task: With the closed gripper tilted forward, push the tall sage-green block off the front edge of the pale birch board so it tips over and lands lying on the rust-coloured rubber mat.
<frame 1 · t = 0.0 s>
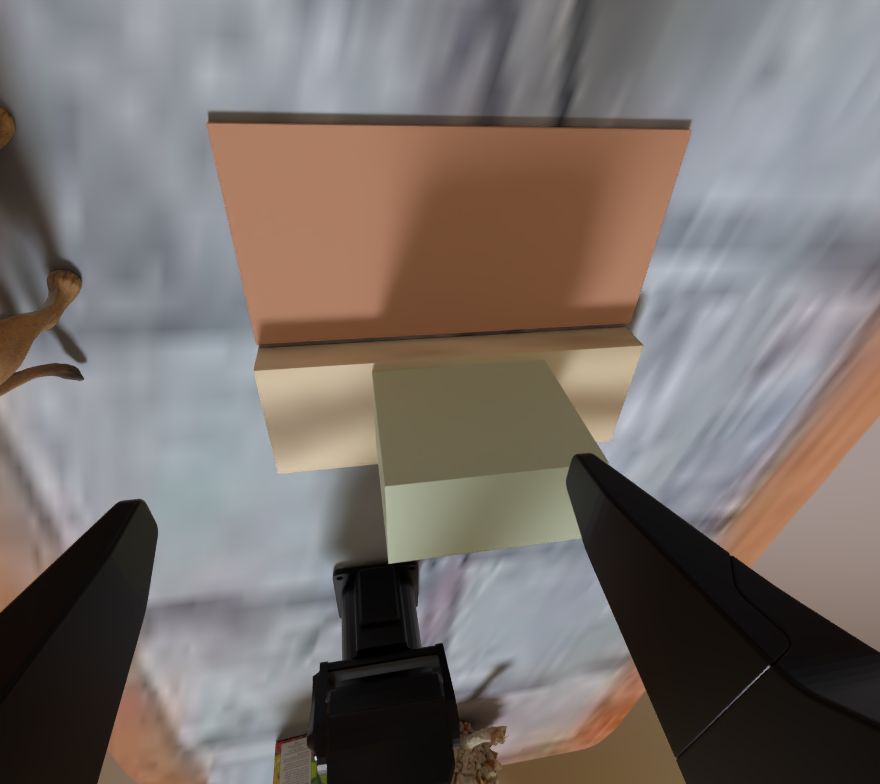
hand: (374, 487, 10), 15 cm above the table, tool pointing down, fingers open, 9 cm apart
birch board: (450, 389, 28), on the table
pine cone: (459, 718, 61), on the table
rubber mat: (460, 241, 23), on the table
snack box: (324, 759, 61), on the table
green block: (457, 403, 26), point 2 cm above the table, touching birch board
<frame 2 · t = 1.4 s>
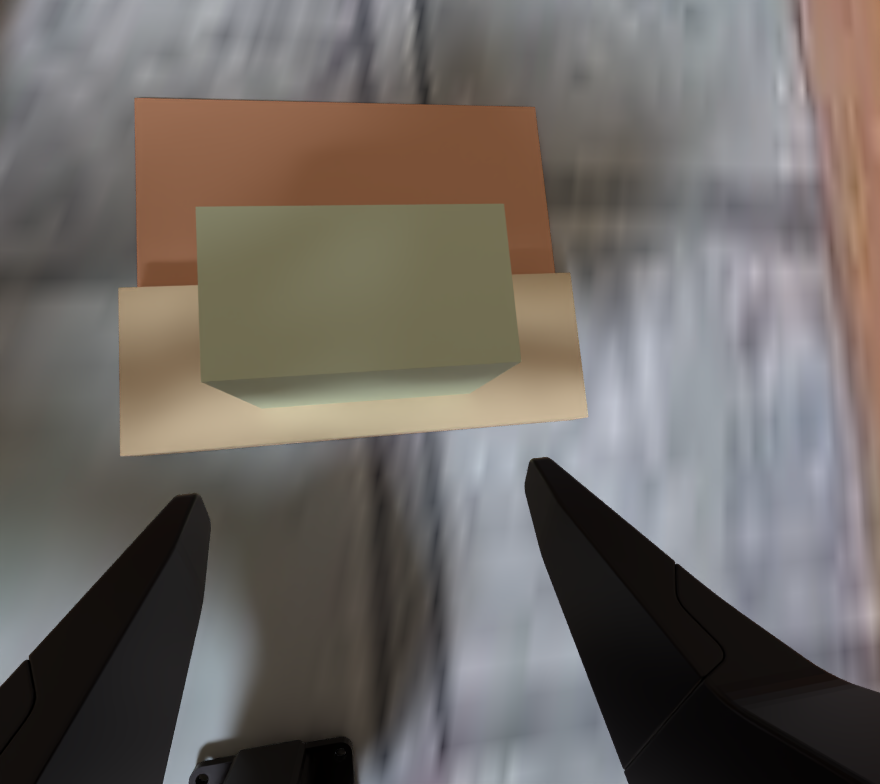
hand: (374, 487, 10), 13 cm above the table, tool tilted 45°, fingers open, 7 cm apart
birch board: (366, 364, 23), on the table
rubber mat: (353, 194, 24), on the table
green block: (365, 344, 21), point 2 cm above the table, touching birch board
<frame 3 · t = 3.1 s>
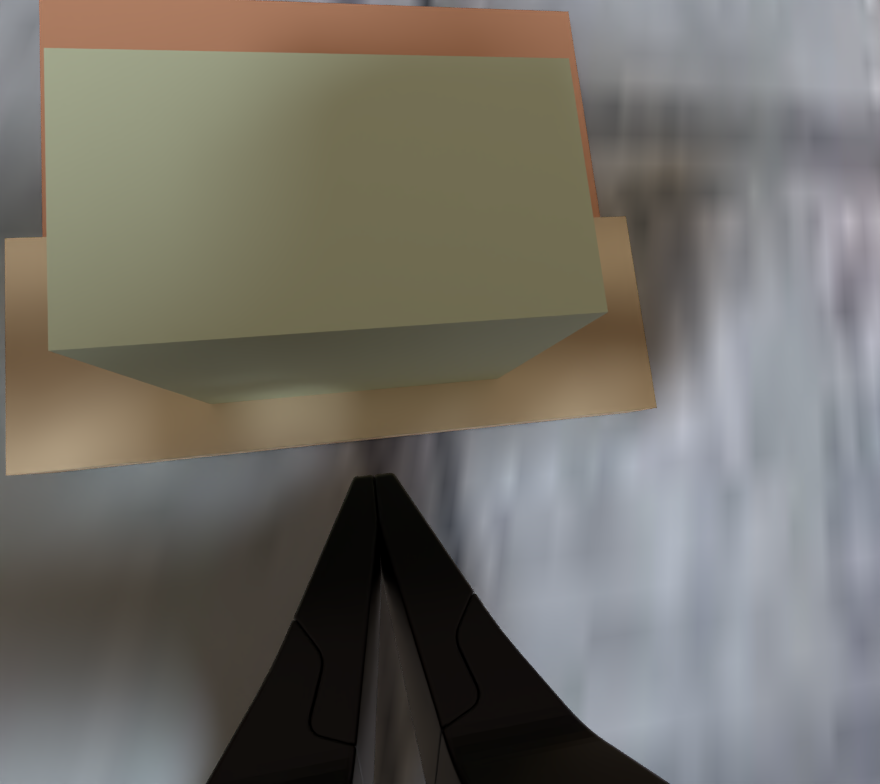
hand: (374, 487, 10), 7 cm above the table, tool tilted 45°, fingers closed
birch board: (356, 343, 17), on the table
rubber mat: (336, 122, 18), on the table
green block: (353, 314, 16), point 2 cm above the table, touching birch board
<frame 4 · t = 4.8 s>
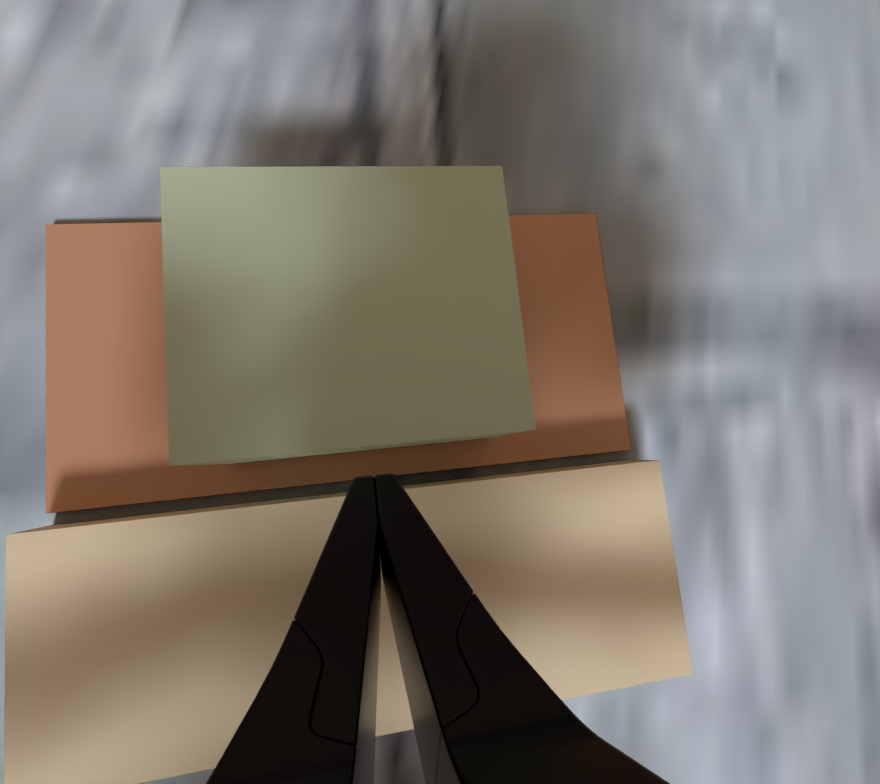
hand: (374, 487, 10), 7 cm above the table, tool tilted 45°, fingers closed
birch board: (376, 592, 17), on the table
rubber mat: (356, 345, 18), on the table
green block: (364, 448, 14), point 3 cm above the table, tilted 90°, touching rubber mat
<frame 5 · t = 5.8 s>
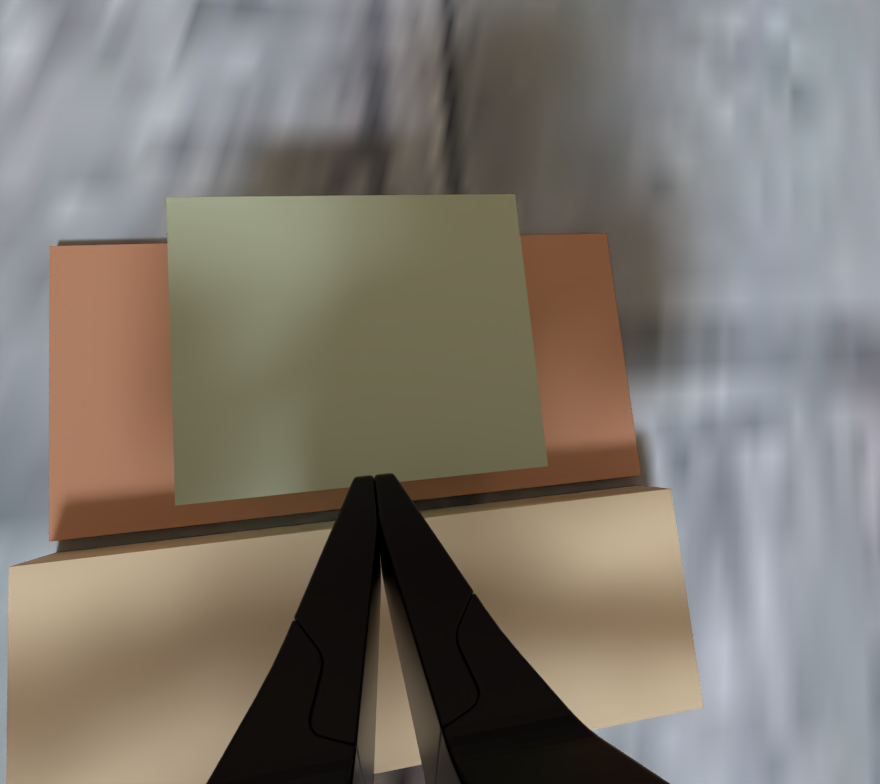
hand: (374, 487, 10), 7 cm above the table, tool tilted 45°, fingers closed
birch board: (382, 620, 16), on the table
rubber mat: (363, 369, 17), on the table
green block: (371, 479, 14), point 3 cm above the table, tilted 90°, touching rubber mat
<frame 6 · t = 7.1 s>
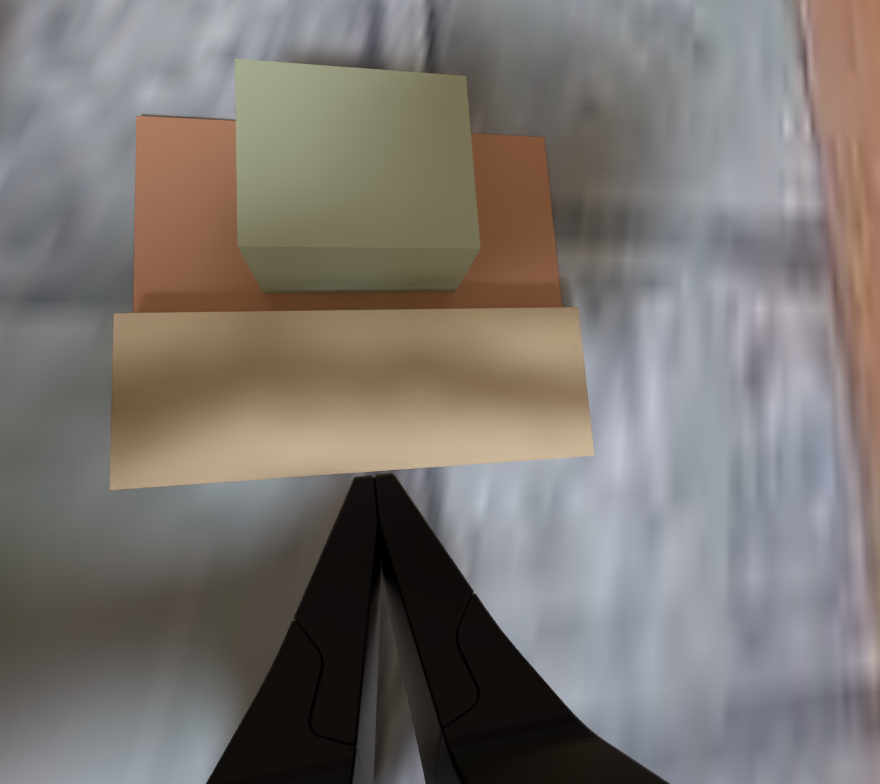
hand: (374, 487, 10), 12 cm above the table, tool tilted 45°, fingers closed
birch board: (368, 395, 23), on the table
rubber mat: (359, 220, 24), on the table
green block: (363, 273, 21), point 3 cm above the table, tilted 90°, touching rubber mat
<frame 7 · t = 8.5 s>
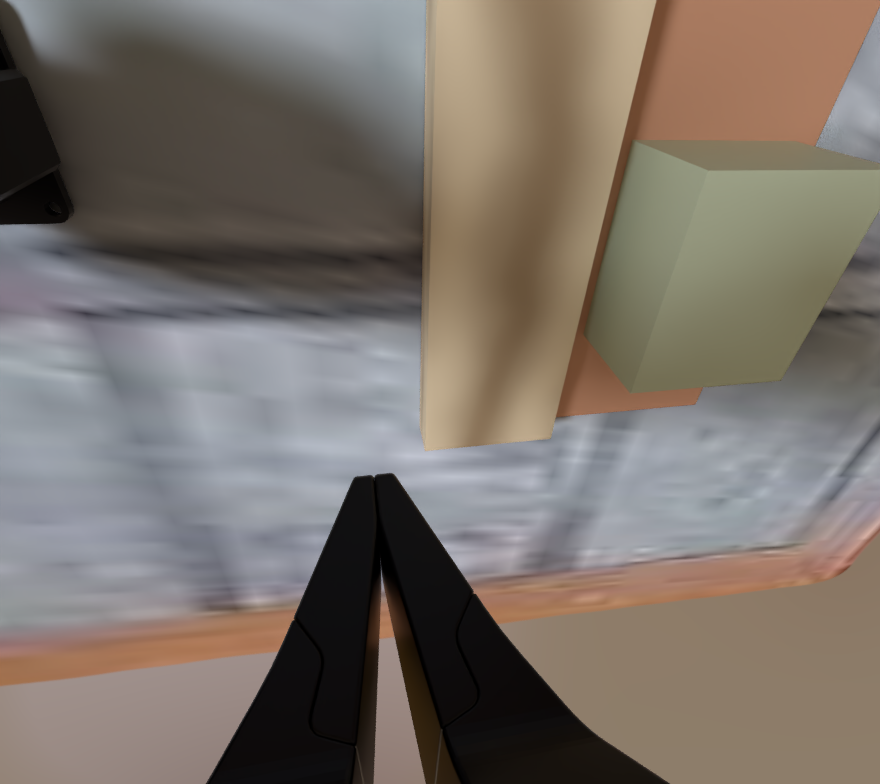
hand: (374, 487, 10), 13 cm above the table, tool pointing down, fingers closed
birch board: (500, 250, 21), on the table
rubber mat: (676, 245, 23), on the table
green block: (631, 271, 20), point 3 cm above the table, tilted 90°, touching rubber mat
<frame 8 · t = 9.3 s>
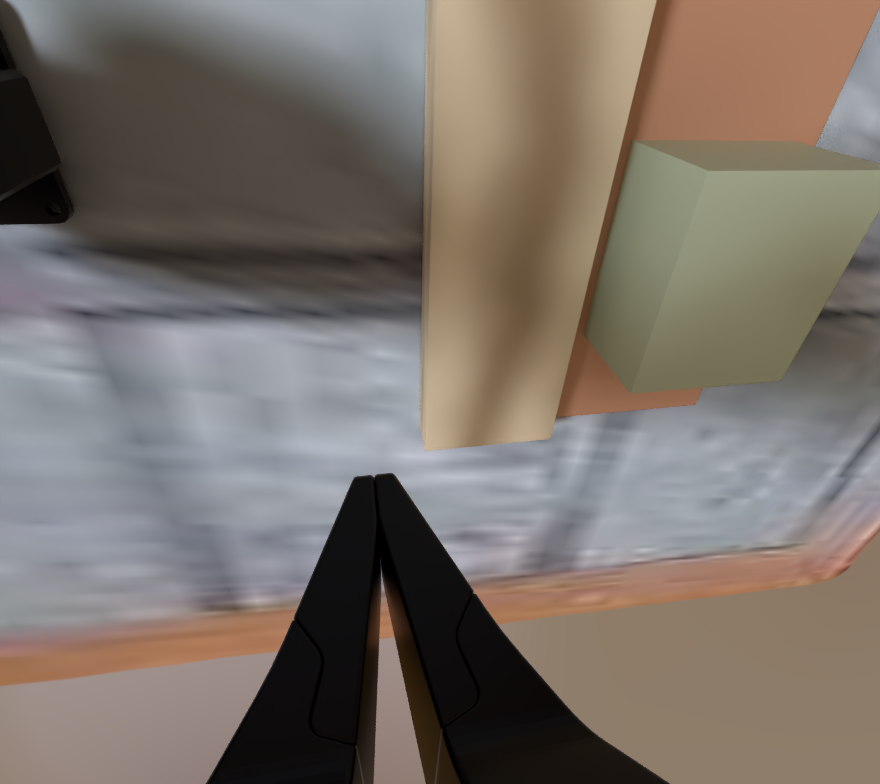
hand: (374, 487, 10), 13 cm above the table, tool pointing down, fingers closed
birch board: (500, 250, 21), on the table
rubber mat: (676, 245, 23), on the table
green block: (631, 271, 20), point 3 cm above the table, tilted 90°, touching rubber mat
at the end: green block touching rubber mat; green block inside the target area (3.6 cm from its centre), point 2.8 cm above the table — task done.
